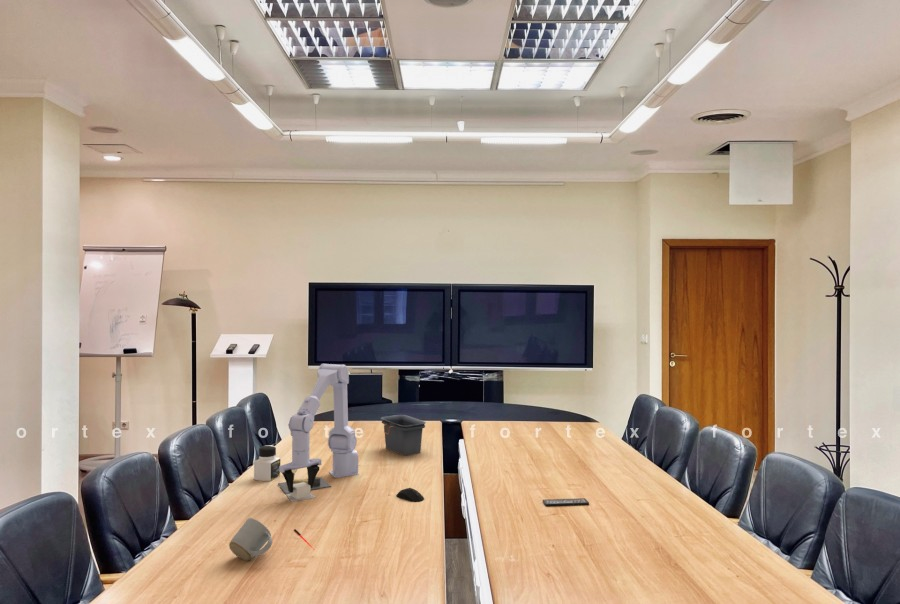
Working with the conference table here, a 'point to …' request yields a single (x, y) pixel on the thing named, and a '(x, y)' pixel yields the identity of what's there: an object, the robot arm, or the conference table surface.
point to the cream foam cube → (301, 490)
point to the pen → (302, 537)
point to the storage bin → (403, 434)
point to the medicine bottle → (267, 464)
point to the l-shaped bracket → (306, 480)
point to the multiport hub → (565, 502)
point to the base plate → (322, 485)
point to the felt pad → (300, 498)
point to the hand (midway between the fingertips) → (300, 489)
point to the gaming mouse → (410, 495)
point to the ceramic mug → (251, 540)
